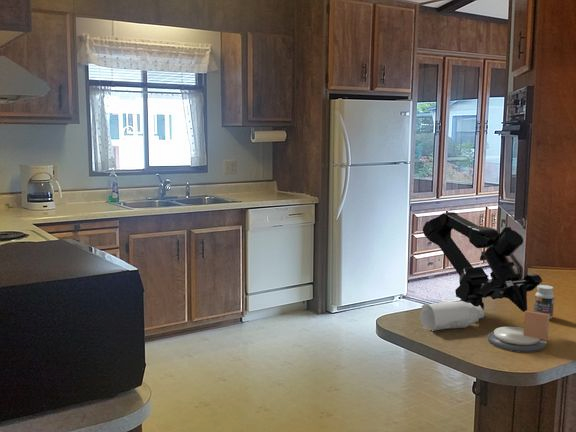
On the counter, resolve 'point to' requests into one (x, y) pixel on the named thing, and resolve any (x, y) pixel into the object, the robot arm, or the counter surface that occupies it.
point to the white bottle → (450, 315)
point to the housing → (515, 347)
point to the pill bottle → (544, 300)
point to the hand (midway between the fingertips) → (525, 311)
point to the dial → (526, 330)
